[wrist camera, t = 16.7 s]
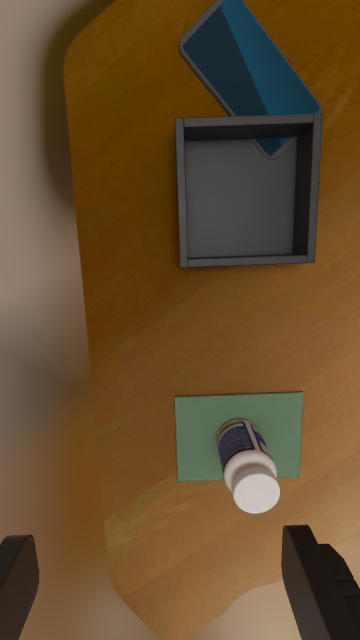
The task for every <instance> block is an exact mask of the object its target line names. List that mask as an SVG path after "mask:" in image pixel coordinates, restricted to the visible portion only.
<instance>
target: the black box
mask: <svg viewBox="0 0 360 640" xmlns="http://www.w3.org/2000/svg"><path fill="white" fill-rule="evenodd" d="M322 115H323V114H322V113H314V114H284V115H255V116H226V117H198V118H184V119H183V118H175V148H176V176H177V205H178V234H179V262H180V267H181V268H184V267H211V266H239V265H266V264H294V263H315V248H316V229H317V210H318V191H319V172H320V153H321V134H322ZM287 137H297V140H296V141H295V142H294V143H293V144H292V145H291V146H290V147H289V148H288V149H287V150H286V151H285V152H284V153H283V154H282V155H280V156H279V157H278V158H276V159H275V160H268V159H267V158H265V157H264V156H263V155H262V154H261V152H260V151H259V150H258V149H257V147H256V146H255V145H254V144H253V142H252V141H251V140H250V139H257V138H287Z"/></svg>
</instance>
